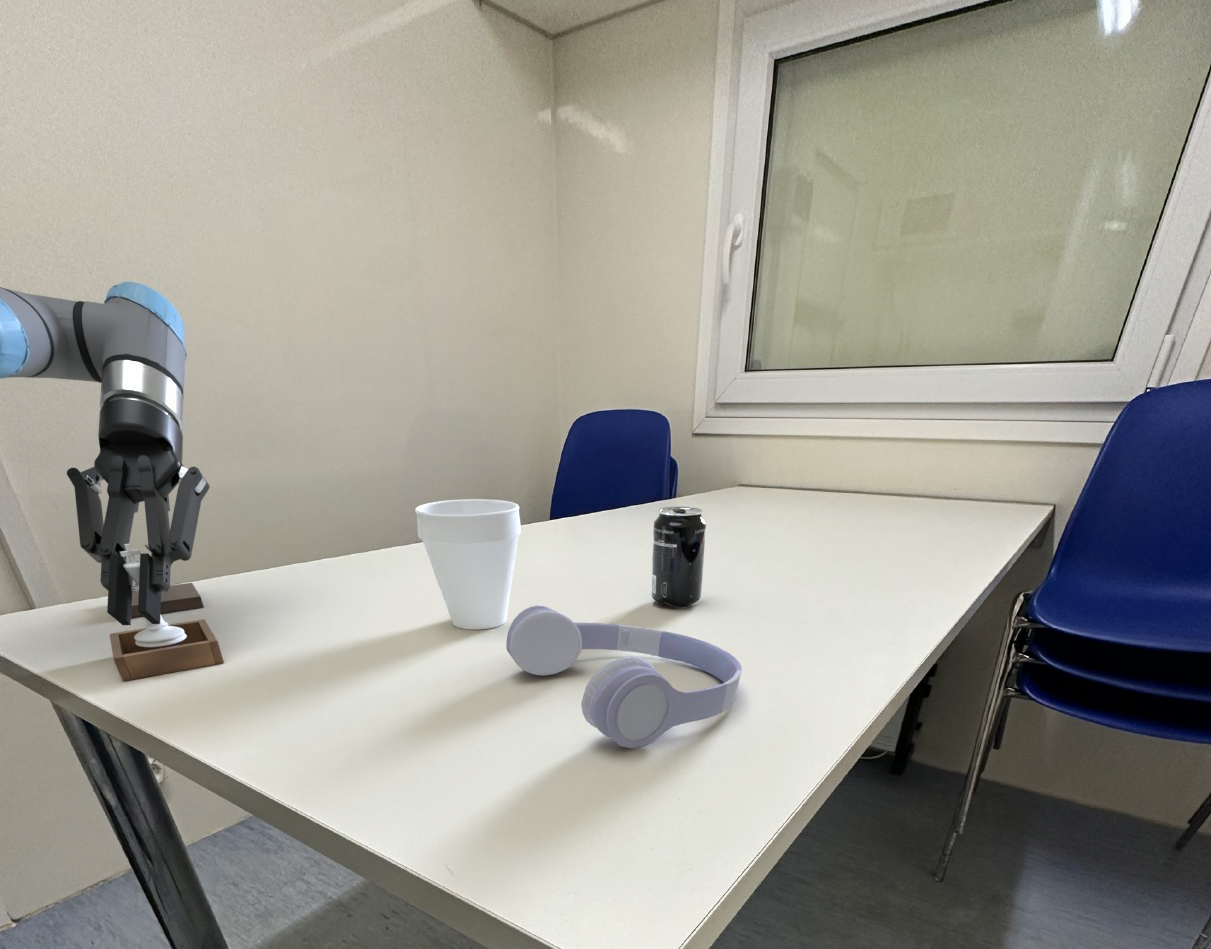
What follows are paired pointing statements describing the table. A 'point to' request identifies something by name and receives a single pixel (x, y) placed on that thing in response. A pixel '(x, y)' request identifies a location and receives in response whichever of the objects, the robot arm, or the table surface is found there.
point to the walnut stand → (173, 599)
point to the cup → (472, 556)
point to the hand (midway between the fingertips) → (134, 617)
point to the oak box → (165, 652)
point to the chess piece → (154, 632)
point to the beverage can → (678, 556)
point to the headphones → (625, 673)
